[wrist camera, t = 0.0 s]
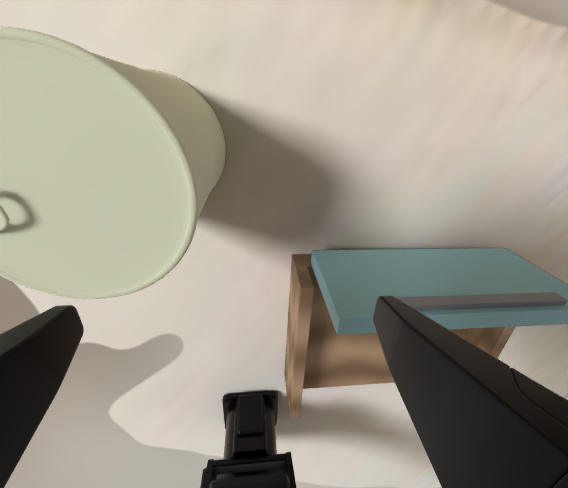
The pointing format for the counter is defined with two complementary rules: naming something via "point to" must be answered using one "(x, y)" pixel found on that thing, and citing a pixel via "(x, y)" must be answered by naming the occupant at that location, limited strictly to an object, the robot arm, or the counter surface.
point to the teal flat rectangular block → (439, 287)
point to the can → (97, 168)
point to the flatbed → (342, 342)
